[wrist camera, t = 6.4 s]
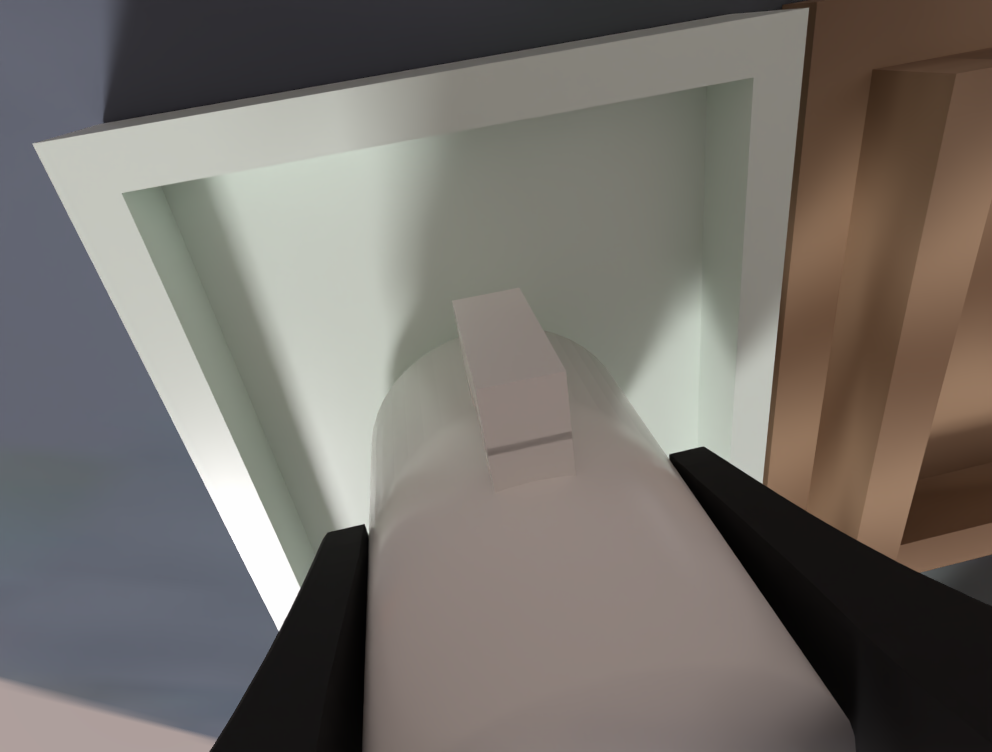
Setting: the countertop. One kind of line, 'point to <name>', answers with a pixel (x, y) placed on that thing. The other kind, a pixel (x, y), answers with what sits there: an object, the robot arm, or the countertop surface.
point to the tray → (446, 250)
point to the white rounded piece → (558, 570)
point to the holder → (890, 281)
